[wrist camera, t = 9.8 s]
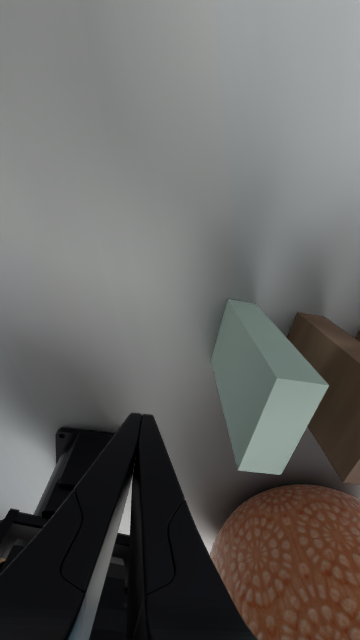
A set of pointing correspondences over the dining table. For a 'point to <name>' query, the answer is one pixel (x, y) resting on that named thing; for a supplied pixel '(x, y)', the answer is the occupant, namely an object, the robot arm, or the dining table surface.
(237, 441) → the domino
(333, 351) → the domino
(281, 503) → the planter
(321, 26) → the dining table surface
